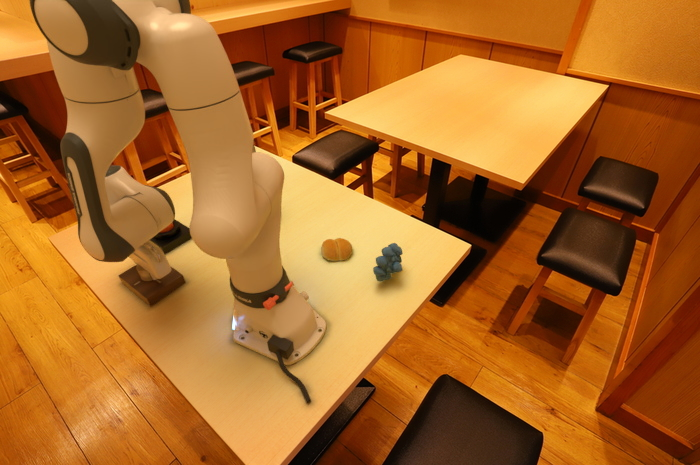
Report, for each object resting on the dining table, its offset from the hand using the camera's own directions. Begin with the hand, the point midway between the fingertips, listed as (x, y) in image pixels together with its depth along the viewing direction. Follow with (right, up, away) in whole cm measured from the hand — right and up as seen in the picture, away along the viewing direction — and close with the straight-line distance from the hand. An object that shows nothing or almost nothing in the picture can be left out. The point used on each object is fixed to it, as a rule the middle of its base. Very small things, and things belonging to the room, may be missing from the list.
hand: (149, 272), depth 95 cm
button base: (-3, +8, +16) cm, 19 cm away
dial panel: (0, -3, +3) cm, 4 cm away
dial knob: (0, -1, +1) cm, 1 cm away
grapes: (+62, -3, +5) cm, 62 cm away
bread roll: (+47, +4, +13) cm, 49 cm away
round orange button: (-3, +12, +14) cm, 18 cm away
